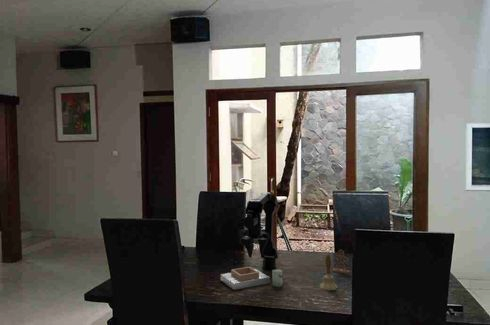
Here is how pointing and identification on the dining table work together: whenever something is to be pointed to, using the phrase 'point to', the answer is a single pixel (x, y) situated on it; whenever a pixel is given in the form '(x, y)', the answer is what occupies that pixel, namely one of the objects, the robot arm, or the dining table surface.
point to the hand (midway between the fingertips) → (255, 255)
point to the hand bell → (328, 277)
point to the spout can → (277, 278)
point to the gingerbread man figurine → (341, 265)
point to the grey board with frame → (244, 278)
